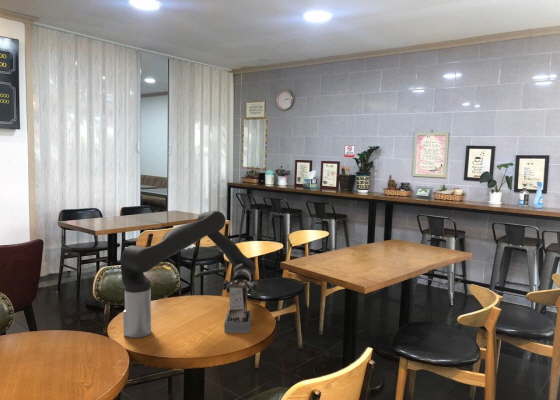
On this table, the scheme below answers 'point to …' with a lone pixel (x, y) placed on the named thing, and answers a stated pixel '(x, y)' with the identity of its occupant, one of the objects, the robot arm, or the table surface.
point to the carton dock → (237, 324)
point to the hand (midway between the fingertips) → (239, 290)
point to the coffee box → (238, 301)
